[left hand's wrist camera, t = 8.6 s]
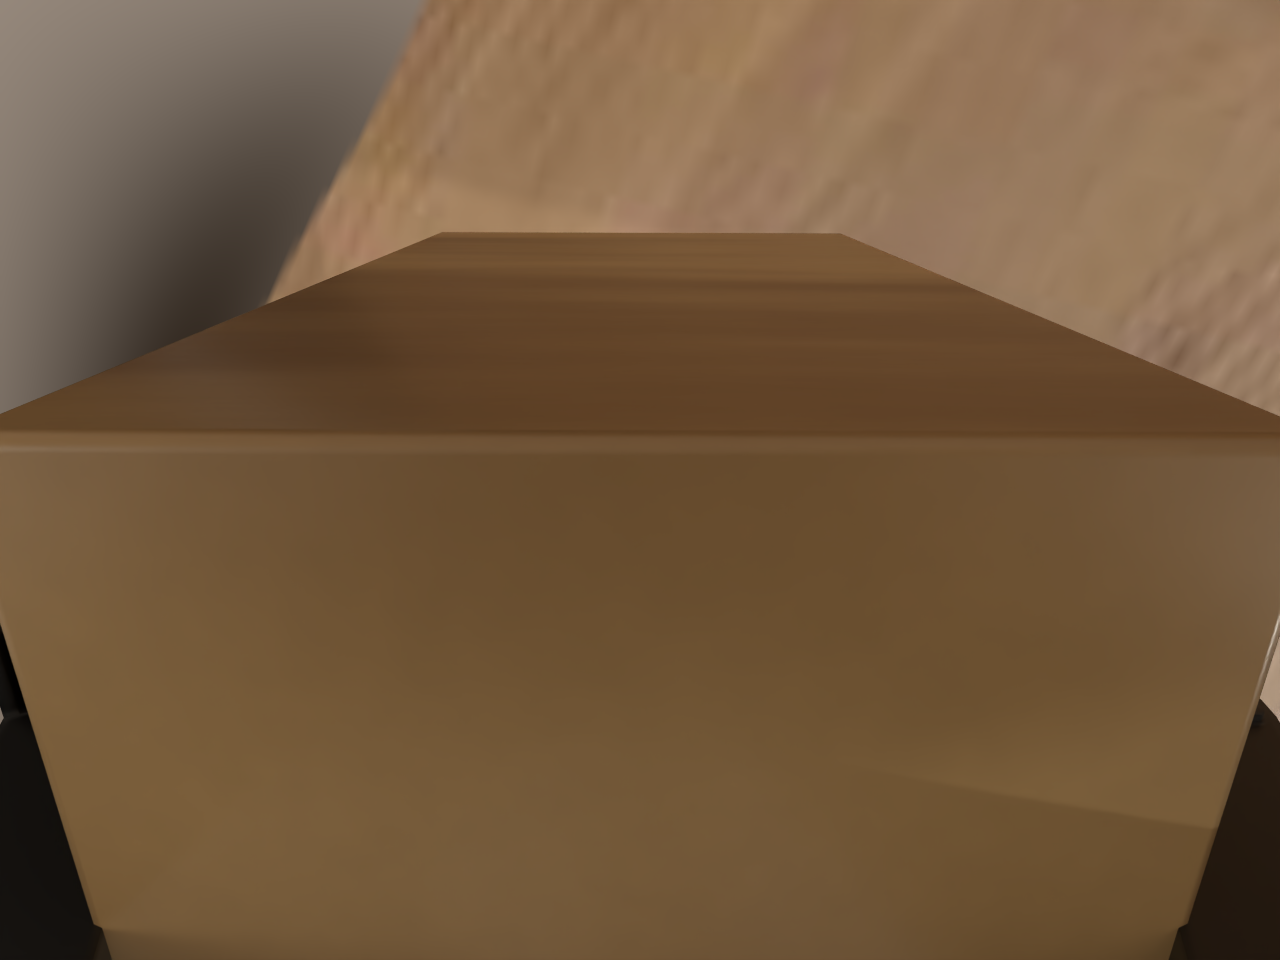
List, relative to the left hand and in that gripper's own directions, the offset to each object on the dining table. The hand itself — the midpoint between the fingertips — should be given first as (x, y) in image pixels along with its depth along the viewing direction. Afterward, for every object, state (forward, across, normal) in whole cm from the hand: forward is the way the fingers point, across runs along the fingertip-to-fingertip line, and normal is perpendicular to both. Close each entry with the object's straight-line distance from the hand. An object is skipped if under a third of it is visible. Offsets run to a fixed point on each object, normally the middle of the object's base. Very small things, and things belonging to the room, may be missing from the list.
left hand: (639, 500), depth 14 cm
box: (+1, 0, -8) cm, 8 cm away
